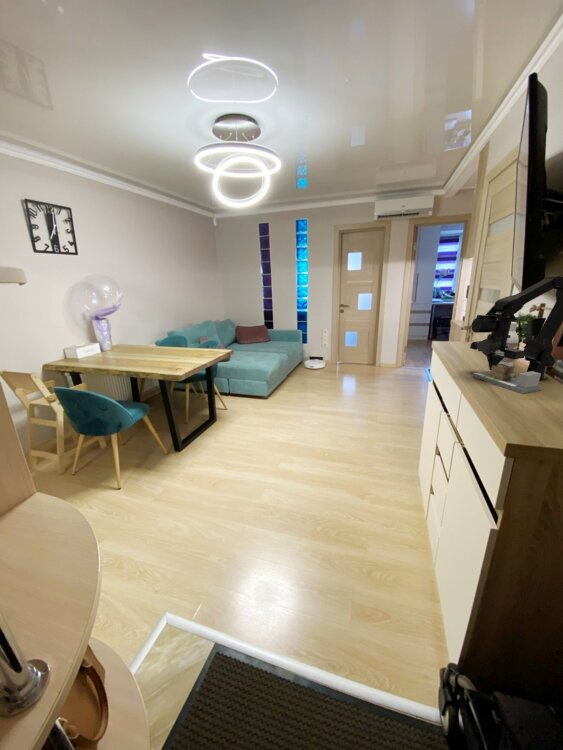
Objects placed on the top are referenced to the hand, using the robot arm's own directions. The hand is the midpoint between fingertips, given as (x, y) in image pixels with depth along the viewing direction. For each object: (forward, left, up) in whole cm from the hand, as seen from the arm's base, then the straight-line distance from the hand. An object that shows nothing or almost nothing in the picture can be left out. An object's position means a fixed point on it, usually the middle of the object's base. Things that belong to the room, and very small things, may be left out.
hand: (491, 370), depth 126 cm
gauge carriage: (+1, +6, -2) cm, 6 cm away
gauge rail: (0, +6, -3) cm, 7 cm away
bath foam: (-22, -10, -4) cm, 24 cm away
